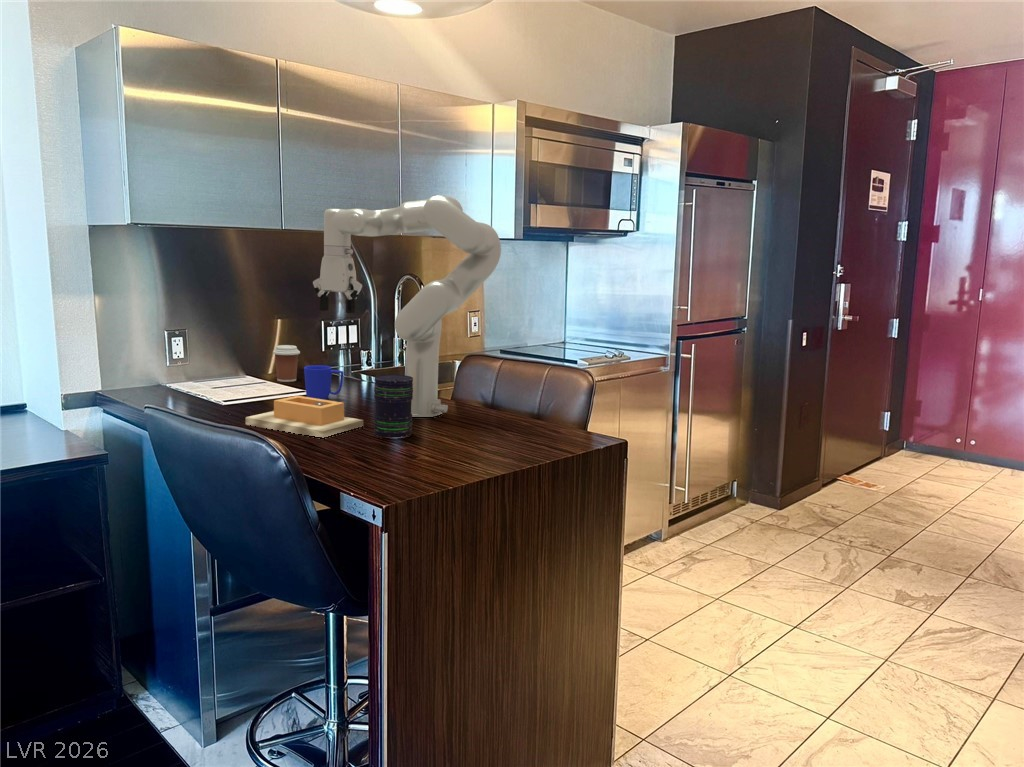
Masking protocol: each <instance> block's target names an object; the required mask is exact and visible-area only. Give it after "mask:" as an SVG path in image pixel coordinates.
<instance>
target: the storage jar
mask: <svg viewBox="0 0 1024 767" xmlns="http://www.w3.org/2000/svg"><path fill="white" fill-rule="evenodd" d="M412 382H413V377H410V376H406V375H405V374H381V375H376V376H375V377H374V387H373V391H374V400H375V401H374V402H375V403H374V405H375V406H374V409H375V410H374V414H373V415H374V416H373V419H374V420H373V428H374V432H373V435H374V434H375V435H378V436H382V437H401V436H406V435H409V434H411V433H412V430H413V427H412V426H413V418H412V414H411V404H412V399H413V383H412ZM412 434H413V433H412Z"/></svg>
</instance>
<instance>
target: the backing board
mask: <svg viewBox="0 0 1024 767" xmlns="http://www.w3.org/2000/svg"><path fill="white" fill-rule="evenodd" d="M245 425H246V426H250V425H251V426H250V427H255V426H256V427H257V428H261V429H266V428H267V430H271V429H273V431H277V430H279V432H282V431H285V432H284V433H288V432H291V433H290V434H293V433H295V434H294V435H298V434H302V435H301V436H304V435H309V436H315V437H322V438H324V437H328V436H331V435H334V434H337V433H341V432H344V431H348V430H351V429H354V428H358V427H362V426H363V427H364V419H359V418H353V417H348V416H344V420H340V421H337V422H333V423H329V424H326V425H322V426H320V425H315V424H309V423H303V422H298V421H292V420H287V419H281V418H275V417H274V410H272V411H267V412H263V413H259V414H255V415H254V414H253V415H250V416H246V417H245ZM309 436H308V437H309Z"/></svg>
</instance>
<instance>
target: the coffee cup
mask: <svg viewBox="0 0 1024 767" xmlns="http://www.w3.org/2000/svg"><path fill="white" fill-rule="evenodd" d="M272 354H273V355H274V358H275V359H274V360H275V370H276V380H277V382H283V383H284V382H285V383H290V382H296V381H297V376H298V374H297V373H298V361H299V355H300V354H301V351H300V350H299V349H298V346H296V345H292V344H291V345H290V344H280V345H276V346H275V349H274V350H273V351H272Z"/></svg>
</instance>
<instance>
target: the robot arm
mask: <svg viewBox="0 0 1024 767" xmlns="http://www.w3.org/2000/svg"><path fill="white" fill-rule="evenodd" d="M425 231H426V232H427V231H436V232H437V233H439V234H441V236H443V237H444V238H445V239H447V240H448V241H449V242H450V243H452V245H454V246H455V247H456V248H458V249H459V250H461V251H462V252H465V253H467V256H466V257H465V258H464V259H463V260H461V261H460V262H459V263H458V264H457V265H456V266H455V268H454V269H453V270H451V271H450V272H449V273H448V274H447V275H446V276H445V277H444V278H441V279H436V280H432V281H431V282H429V283H427V284H426V285H425V286H423V287H422V288H421V289H420V290H419V291H418V292H417V293H416V294H415V295H414V296H413V297H412V298H411V299H410V301H409V302H407V304H406V305H405V306H403V308H401V310H400V311H399V312H398V314H397V315H396V317H395V320H394V329H395V332H396V334H397V336H398V337H399V339H402V340H403V341H406V346H405V359H404V360H405V362H404V368H405V369H404V375H406V376H410V377H413V382H412V383H413V399H412V404H411V414H412V417H433V416H437V415H440V414H442V415H443V413H446V414H447V412H448V409H449V405H448V404H442V403H441V402H442V401H441V400H442V399H438V390H439V388H438V386H439V383H438V382H439V363H440V362H439V360H440V359H439V356H440V355H439V354H440V345H441V344H440V343H441V335H442V327H443V325H442V324H443V323H442V322H443V321H442V319H443V318H444V317H445V316H446V315H449V314H452V313H455V312H456V311H458V310H459V309H460V308H461V307H462V305H463V304H464V303H466V302H467V301H468V300H469V299H470V297H471V296H472V295H473V294H474V293H475V292H476V291H477V290H478V289H479V287H480V286H482V285H483V283H485V281H487V279H488V278H490V276H491V275H492V274H493V273H494V271H495V270H496V268H497V266H498V264H499V262H500V258H501V254H502V246H501V244H502V243H501V240H500V237H499V234H498V232H497V231H496V230H495V228H493V227H492V226H491V225H490V224H488V223H485V222H479V221H476V220H475V219H473V218H472V217H471V216H469V215H468V214H466V213H465V212H464V211H463V207H462V204H461V203H460V202H459V201H458V199H456V198H453V197H451V196H447V195H443V194H437V195H432V196H431V197H429V198H427V199H420V200H411V201H409V200H408V201H405V202H403V203H401V205H399V206H397V207H393V208H392V207H391V208H386V209H376V210H375V209H373V210H372V209H371V210H370V209H366V208H347V209H344V208H343V209H342V208H327V209H326V210H325V211H324V214H323V256H322V259H321V264H320V273H319V274H320V275H319V277H318V278H316V279H314V280H313V281H312V285H313V288H314V291H315V293H316V294H317V297H319V311H321V312H325V311H326V312H327V311H329V305H330V304H329V302H330V301H329V296H328V294H330V293H331V292H332V293H333V292H334V293H344V295H345V296H346V298H347V299H346V300H345V312H346V314H354V313H355V312H356V310H355V309H356V308H355V307H356V300H357V298H358V297H359V295H360V294H361V290H362V288H363V284H362V283H360V282H359V281H358V280H357V279H356V275H357V274H356V268H355V262H354V259H353V257H352V256H351V255H353V253H354V250H353V249H352V248H351V247H352V246H351V245H352V244H351V242H352V240H351V239H352V238H351V236H358V237H359V236H360V237H371V238H372V237H382V236H390V235H391V236H393V235H397V234H399V235H400V234H410V233H418V232H425Z"/></svg>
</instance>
